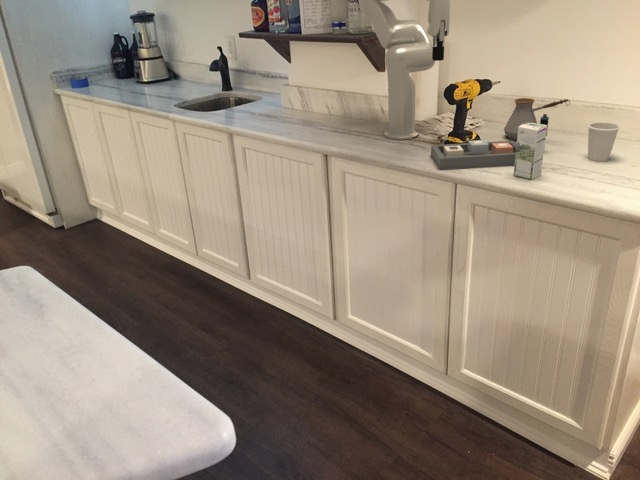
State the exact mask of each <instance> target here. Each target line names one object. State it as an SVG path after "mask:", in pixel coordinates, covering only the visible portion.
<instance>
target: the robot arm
mask: <svg viewBox="0 0 640 480" xmlns="http://www.w3.org/2000/svg"><path fill="white" fill-rule="evenodd" d="M382 1H383V2H384V1H388V0H358V4H359V7H360V9H361V11H362V13H363V14H364V15H365V17H366V19H368V21H369V22H370V24H371V26H372V28H373V31H374V32H375V35H376V37H377V39H378V41H379V43H380V45H381V47H382V48H383V49H385V50H386V52H385V56H384V63H385V68H386V74H387V76H386V77H387V93H388V94H387V95H388V96H387V98H388V99H387V100H388V103H387V104H388V107H387V109H388V111H387V112H388V115H387V116H388V117H387V118H388V119H387V120H388V121H387V122H388V123H387V124H388V127H387V128H388V129H387V130H385V131H384V133H383V136H384V137H385V138H387V139H391V140H399V141H403V140H412V139H413V138H412V135H410V134H412V133H413V132H414V131H415V129H416V126H415V125H416V120H415V119H416V84H415V81H414V80H413V78H412V77H411V75H410V74H411V73H415V72H423V71H424V72H425V71H428V70H430V69H432V68H433V67H434V66H435V64H436V61H437V62H438V61H444V59H445V39H446V38H445V37H447V36H449V33H450V17H451V16H450V15H451V11H450V9H451V7H450V5H451V4H450V2H451V0H426V1H428V2H429V3H428V13H427V29H425V27H424V26H423V25H422V23H421V22H420V21H419V20H416V19H403V20H402V19H401V20H400V19H398V18H397V17H396V16H395V14H394V11H393V10H392V9H391V8H390V7H389V6H388V5H387V4H385V3H383V2H382ZM428 35H429V36H430V37H431V38H432V42H431V40H430V38H429V36H428Z"/></svg>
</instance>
